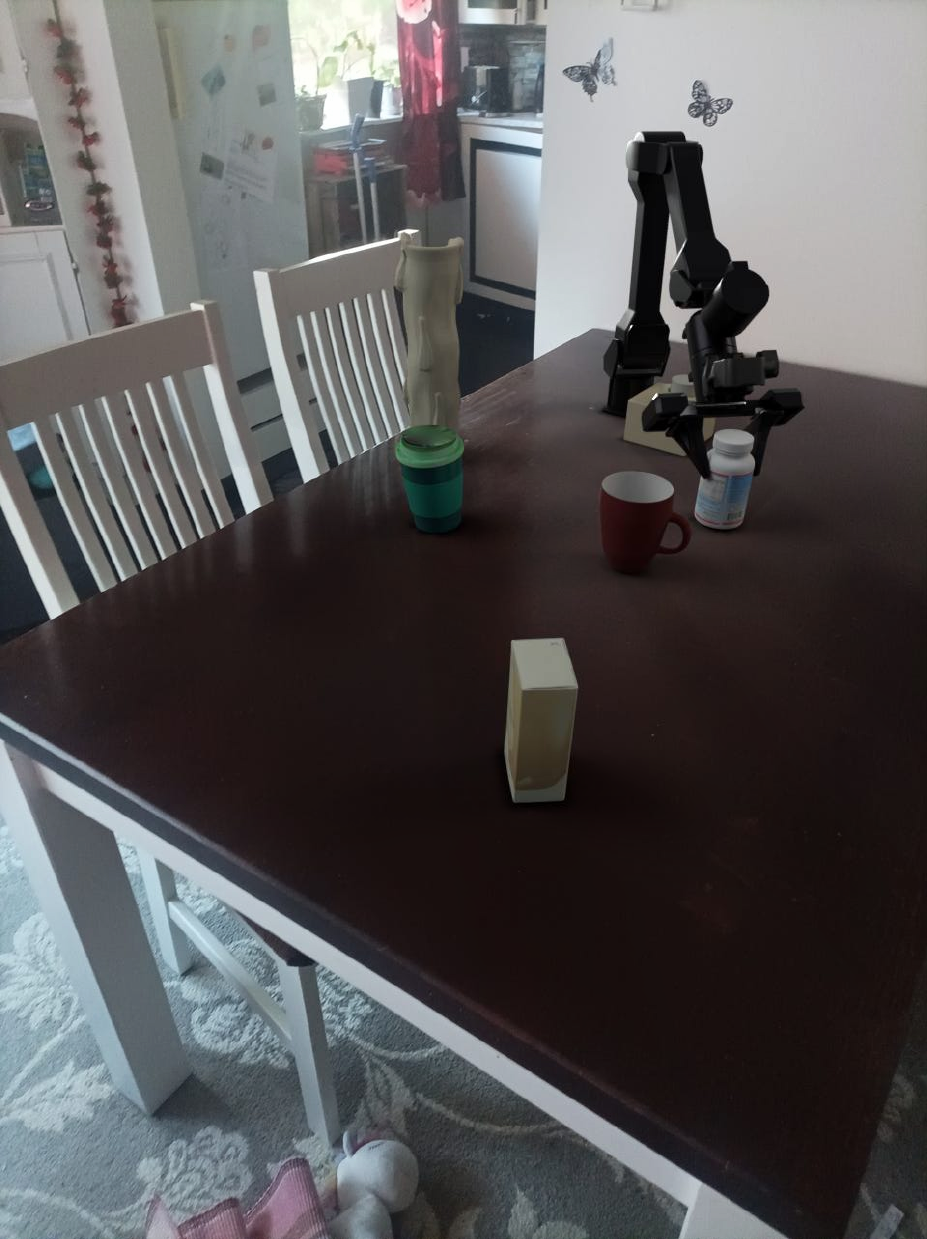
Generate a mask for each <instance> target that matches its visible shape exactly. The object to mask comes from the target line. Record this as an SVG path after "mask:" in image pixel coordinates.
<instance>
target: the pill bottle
mask: <svg viewBox="0 0 927 1239" xmlns="http://www.w3.org/2000/svg"><path fill="white" fill-rule="evenodd" d="M742 430H743V429H737V428H736V429H735V428H724V429H720V430H717V431H716V432H715V433H714V435H713V440H712V448H711V449H710V450H708V451H706V452H707V457H708V462H709V473H710V476H709V478H708V479H703V478H702V476H701V475H700V479H699V485H698V490H697V496H696V500H695V507H694V516H695V519H696V520H697V521H698V522H699V523H700V524H701V525H702V526H705V527H707V528H710V529H714V530H732V529H736V528H738V527H739V526H740V525H741V524H742V523H743V522H744V518H745V514H746V509H747V504H748V499H749V496H750V490H751V486H752V482H753V478H754V476H753V473H754V468H755V460H754V458H753V456H752V455H751V454H750V452H751V451H752V449H753V444H754V437H753V436H752V435H751V434H750V433H748V432H745V431H742Z"/></svg>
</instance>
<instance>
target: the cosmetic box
mask: <svg viewBox="0 0 927 1239" xmlns="http://www.w3.org/2000/svg"><path fill="white" fill-rule="evenodd" d="M508 676H509V677H508V693H507V708H506V722H505V724H506V725H505V736H504V759H505V767H506V774H507V780H508V784H509V789H510V793H511V798H512V802H513V803H514V804H517V803H519V804H520V803H543V802H545V803H546V802H561V801H564V800H565V797H566V796H565V795H566V790H567V789H566V787H567V779H568V773H569V772H568V771H569V765H570V764H569V763H570V755H571V749H572V748H571V747H572V740H573V733H574V726H575V725H574V723H575V715H576V709H577V700H578V692H579V685H578V682H577V681H578V680H577V678H576V675H575V671H574V667H573V663H572V661H571V658H570V654H569V650H568V648H567V644H566V641H565V639H564V638H563V637H556V638H553V637H551V638H529V639H512V640H511V642H510V660H509V675H508Z"/></svg>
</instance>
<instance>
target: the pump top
mask: <svg viewBox="0 0 927 1239" xmlns="http://www.w3.org/2000/svg"><path fill="white" fill-rule="evenodd" d="M670 393H685V394H686V396H687V397H691V398H692V397H695V392H694V385H693V382H689V380H688V374H676V375H674V376H672V378H671V388H670Z"/></svg>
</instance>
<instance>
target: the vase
mask: <svg viewBox="0 0 927 1239" xmlns="http://www.w3.org/2000/svg"><path fill="white" fill-rule="evenodd" d="M464 247H465V240H464V239H463V238H462V237H460V236H457V237H455V238H450V239H449V240H448V244H447V245H446V246H418V245H413V241H412V236H411V235H410V234H409V233H407V232H405V231H402V232H401V233H400V259H399V261H398V264H397V266H396V269H395V276H394V277H395V278H394V284H395V289H396V290H397V291H398V292H401V293H402V310H403V320H404V327H405V331H406V336H407V358H406V359H407V360H406V372H405V373H406V374H405V377H404V381H403V383H402V389H401V390H402V391H401V395H402V396H401V397H402V400H403V402H404V404H406V405H408V412H409V422H410V423H409V424H410V428H411V427H415V426H419V425H440V426H445V427H448V428H450V429H452V430H453V431H454V432H455V433H456V435H458V436H459V411H460V409H461V406H462V395H461V389H460V384H459V380H458V379H459V370H460V368H459V367H460V366H459V365H460V341H459V340H460V339H459V333H458V329H457V328H458V327H457V322H456V314H457V313H456V310H457V305H460V304H461V303H462V300H463V299H462V298H463V293H464V274H463V270H462V264H461V255H462V252H463V250H464Z"/></svg>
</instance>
